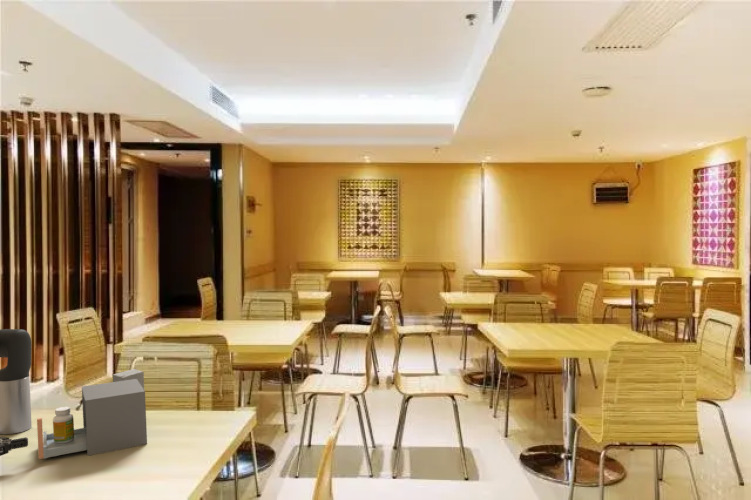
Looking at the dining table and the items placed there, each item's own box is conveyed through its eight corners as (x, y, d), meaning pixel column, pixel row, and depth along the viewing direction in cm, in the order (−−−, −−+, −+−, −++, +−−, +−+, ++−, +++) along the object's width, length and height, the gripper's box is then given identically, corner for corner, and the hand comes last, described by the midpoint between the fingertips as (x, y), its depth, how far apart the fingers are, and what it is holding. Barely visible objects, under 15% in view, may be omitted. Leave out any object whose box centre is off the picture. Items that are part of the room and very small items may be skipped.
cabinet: (83, 437, 179) (81, 386, 179) (138, 427, 187) (136, 378, 187) (87, 455, 164) (85, 400, 163) (147, 443, 172) (144, 391, 171)
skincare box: (135, 412, 204) (133, 368, 203) (147, 415, 200) (145, 370, 199) (112, 418, 197) (110, 373, 196) (124, 422, 193) (122, 375, 192)
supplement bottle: (68, 443, 168) (66, 411, 168) (49, 444, 168) (48, 411, 168) (77, 437, 174) (76, 405, 173) (60, 437, 174) (58, 406, 173)
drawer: (39, 442, 172) (37, 406, 172) (99, 432, 180) (97, 396, 180) (38, 459, 159) (36, 419, 159) (103, 447, 167) (102, 409, 167)
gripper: (-54, 449, 144) (26, 435, 152) (-47, 433, 155) (27, 421, 164) (-53, 478, 144) (28, 463, 153) (-46, 461, 155) (29, 447, 164)
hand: (27, 441), depth 158 cm, fingers closed
